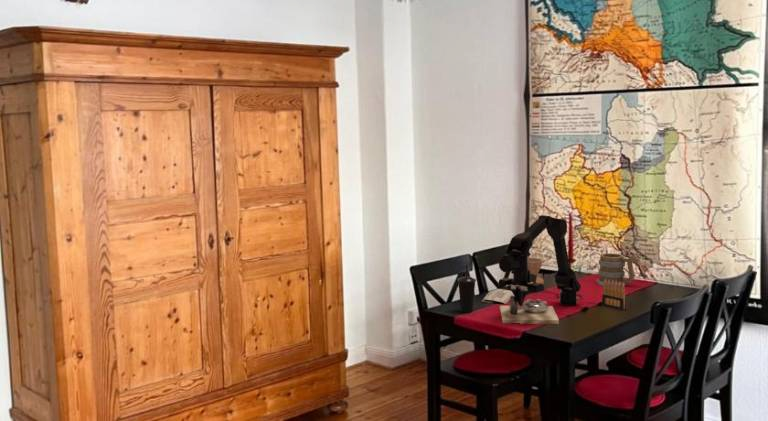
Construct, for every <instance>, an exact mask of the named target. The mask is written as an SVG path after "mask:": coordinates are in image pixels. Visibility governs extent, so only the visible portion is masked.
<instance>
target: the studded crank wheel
mask: <svg viewBox="0 0 768 421" xmlns="http://www.w3.org/2000/svg"><path fill="white" fill-rule="evenodd" d="M509 306H510V314H518V310H522V309H524V311H526V312H530V313H543V312H546V306H547V301H546V300H541V299H540V298H539V299H538V298H537V299H535V300H533V299H530V298H528V299H526V300H524V302H523V305H522V306H519V304H518V302H517V300H516V298H515V296H510V300H509Z"/></svg>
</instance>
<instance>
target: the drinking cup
mask: <svg viewBox="0 0 768 421" xmlns="http://www.w3.org/2000/svg"><path fill="white" fill-rule="evenodd" d="M468 268H469V267H468V264H467V263H466V264H465V276H462V277H459V278H457V283H458V292H459V304H460V312H462V313H465V312H469V313H472V312H474V311H473V310H474V309H473V308H474V300H475V298H474V297H475V290H476V289H475V288H476V281H477V279H476V278H475V277H472V276H469V275H468Z"/></svg>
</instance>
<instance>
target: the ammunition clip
mask: <svg viewBox="0 0 768 421" xmlns="http://www.w3.org/2000/svg"><path fill="white" fill-rule="evenodd" d="M625 286H626V285H624V282H623V283H622V286H621V282H620V281H619V284H618V285H617V281H615V287H614V281H613V280H612V282H611V287H610V280H608V284H607V281H606V278H605V280H604V286H603V288H602V296H601V306H602V307H605V308H610V309H614V310H619V311H626V309H627V306H626V303H627V302H626V301H627V300H626V299H627V298H626V289H625V288H626V287H625Z"/></svg>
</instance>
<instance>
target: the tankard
mask: <svg viewBox="0 0 768 421" xmlns="http://www.w3.org/2000/svg"><path fill="white" fill-rule="evenodd" d="M599 256H600V257H599V258H600V259H598V265H599V269H598V275H599V278H597V279H596V283H597V285H599V286H601V287H602V286H603V287H604V280H605V278H606V281H607V284H608V280H610V288H611V282H612V280H613V281H614V287H615V281H617V285H618V284H619V281H620V282H621V287H622V283H623V282H624V285H625V286H626V285H627V284H628V283H629V284H630V283H632V282H633V281H634V279H635V271H634V267H633V262H634V261H635V263H639V261H640V258H639V257H637V256H635V255H633V256H632V257H628V258H626V257H625V256H624V255H623V254H620V253H602V254H600V255H599ZM626 263H627V269H628V270H627V271H628V273H629V274H628V278H627V277H626V276H625V275H626V272H625V270H624V267H625V266H626Z"/></svg>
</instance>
